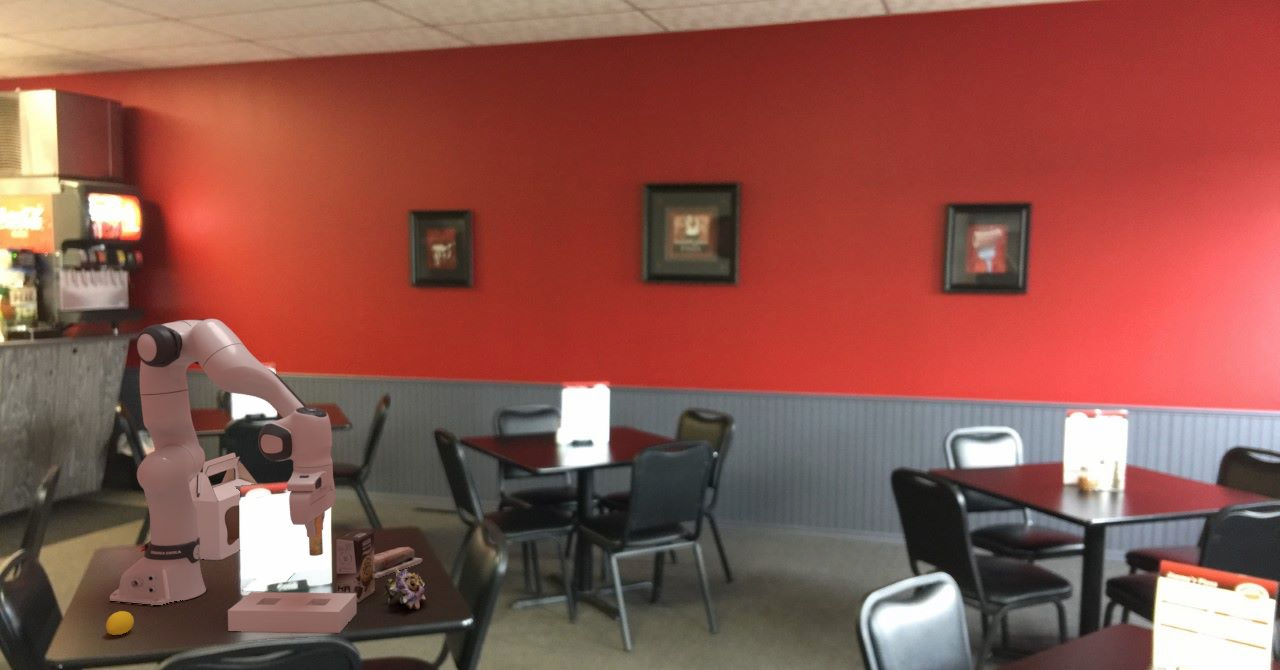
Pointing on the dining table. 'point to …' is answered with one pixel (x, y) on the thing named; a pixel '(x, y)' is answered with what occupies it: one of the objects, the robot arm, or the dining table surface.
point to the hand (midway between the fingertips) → (315, 533)
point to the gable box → (219, 506)
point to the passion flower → (406, 588)
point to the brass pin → (316, 539)
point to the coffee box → (355, 564)
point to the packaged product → (394, 561)
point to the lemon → (119, 623)
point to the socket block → (292, 612)
